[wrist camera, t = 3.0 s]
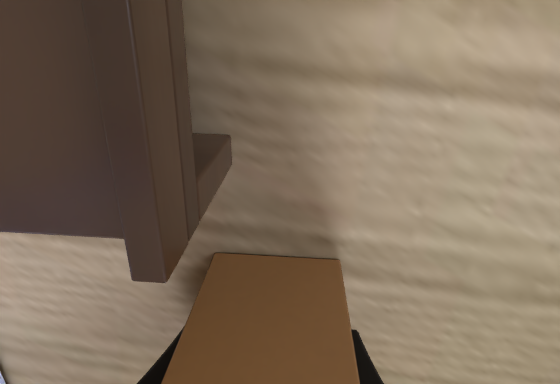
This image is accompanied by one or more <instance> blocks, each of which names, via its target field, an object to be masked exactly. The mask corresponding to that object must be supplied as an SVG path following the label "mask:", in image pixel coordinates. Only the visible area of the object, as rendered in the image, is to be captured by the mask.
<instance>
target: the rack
mask: <svg viewBox="0 0 560 384" xmlns="http://www.w3.org/2000/svg"><path fill="white" fill-rule="evenodd" d="M231 165H232V151H231V137H230V136H229V135H217V134H194V133H192V125H191V113H190V100H189V87H188V74H187V62H186V49H185V36H184V23H183V11H182V0H0V232H15V233H32V234H49V235H67V236H84V237H101V238H119V239H124V240H125V245H126V250H127V256H128V261H129V267H130V272H131V278H132V280H133V281H140V282H156V283H166V282H167V281H168V279H169V278H170V276H171V274H172V272H173V270H174V269H175V267H176V265H177V263H178V261H179V260H180V258H181V256H182V254H183V252H184V251H185V249H186V247H187V245H188V241H189V240H190V239H191V237H192V235H193V233H194V231H195V230H196V228H197V226H198V224H199V221H200V220H201V219H202V217H203V215H204V213H205V212H206V210H207V208H208V206H209V204H210V203H211V201H212V199H213V197H214V196H215V194H216V192H217V190H218V188H219V187H220V185H221V183H222V181H223V179H224V178H225V176H226V174H227V172H228V171H229V169H230V167H231Z"/></svg>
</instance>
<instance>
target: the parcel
mask: <svg viewBox="0 0 560 384" xmlns="http://www.w3.org/2000/svg"><path fill="white" fill-rule="evenodd" d="M161 384H360V381H359V375H358V369H357V362H356V356H355V350H354V344H353V338H352V332H351V325H350V319H349V313H348V307H347V301H346V295H345V289H344V282H343V276H342V270H341V264H340V261H339V260H330V259H313V258H296V257H279V256H262V255H245V254H228V253H215V254H214V256H213V259H212V261H211V264H210V266H209V269H208V271H207V273H206V276H205V278H204V281H203V283H202V286H201V288H200V290H199V293H198V295H197V298H196V300H195V303H194V305H193V308H192V310H191V312H190V315H189V317H188V320H187V322H186V325H185V327H184V329H183V332H182V334H181V337H180V339H179V342H178V344H177V347H176V349H175V351H174V354H173V356H172V359H171V361H170V364H169V366H168V368H167V371H166V373H165V376H164V378H163V381H162V383H161Z"/></svg>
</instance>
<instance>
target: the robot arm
mask: <svg viewBox="0 0 560 384" xmlns="http://www.w3.org/2000/svg"><path fill="white" fill-rule="evenodd" d="M184 327H185V326H184ZM183 329H184V328H183ZM183 329H182V330H181V332H180V333H179V334H178V336H177V337H176V338H175V339H174V341H173V342H172V343H171V344H170V346H169V347H168V348H167V349H166V351H165V352H164V353H163V354H162V355H161V357H160V358H159V359H158V360H157V361H156V363H155V364H154V365H153V366H152V367H151V368H150V370H149V371H148V372H147V373H146V374H145V375H144V376H143V377H142V379H141V380H140V381H139V382H138V383H137V384H161V383H162V381H163V378H164V376H165V373H166V371H167V368H168V366H169V364H170V361H171V359H172V356H173V354H174V351H175V349H176V347H177V344H178V342H179V339H180V337H181V334H182V332H183ZM351 332H352V338H353V344H354V350H355V356H356V362H357V369H358V375H359V381H360V384H384V383H383V381H382V380H381V378H380V376H379V374H378V372H377V371H376V369H375V367H374V365H373V363H372V361H371V359H370V357H369V355H368V353H367V351H366V349H365V346H364V344H363V342H362V340H361V337H360V335H359V333H358V332H357V330H352V329H351ZM0 384H6V383H5V381H4V378H3V376H2V374H1V371H0Z"/></svg>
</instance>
